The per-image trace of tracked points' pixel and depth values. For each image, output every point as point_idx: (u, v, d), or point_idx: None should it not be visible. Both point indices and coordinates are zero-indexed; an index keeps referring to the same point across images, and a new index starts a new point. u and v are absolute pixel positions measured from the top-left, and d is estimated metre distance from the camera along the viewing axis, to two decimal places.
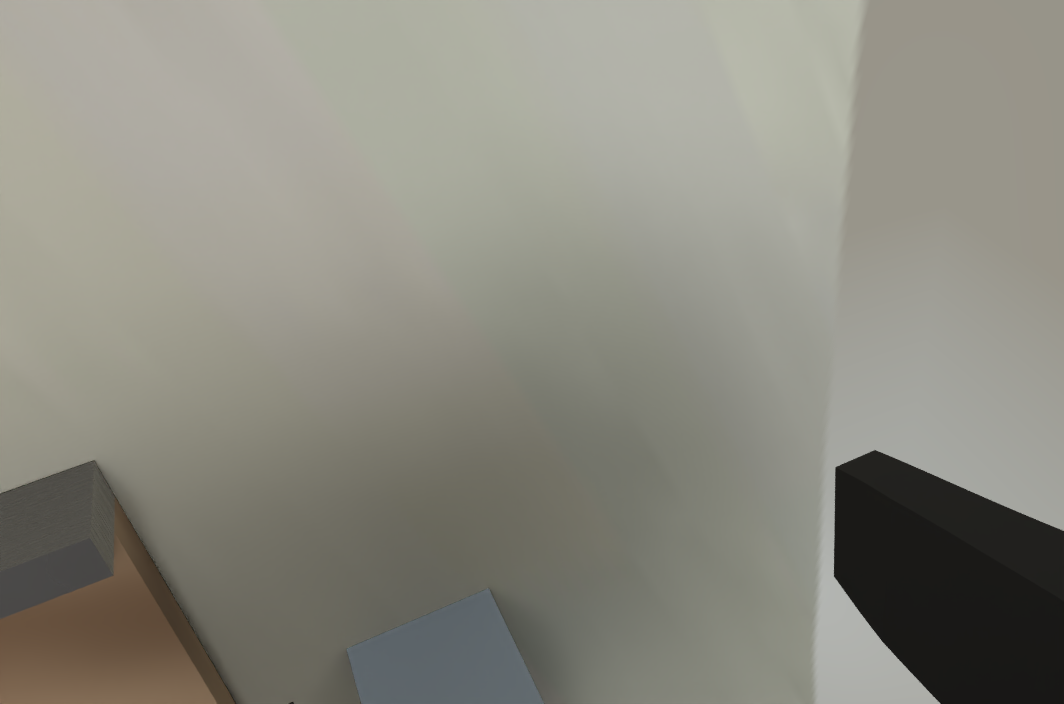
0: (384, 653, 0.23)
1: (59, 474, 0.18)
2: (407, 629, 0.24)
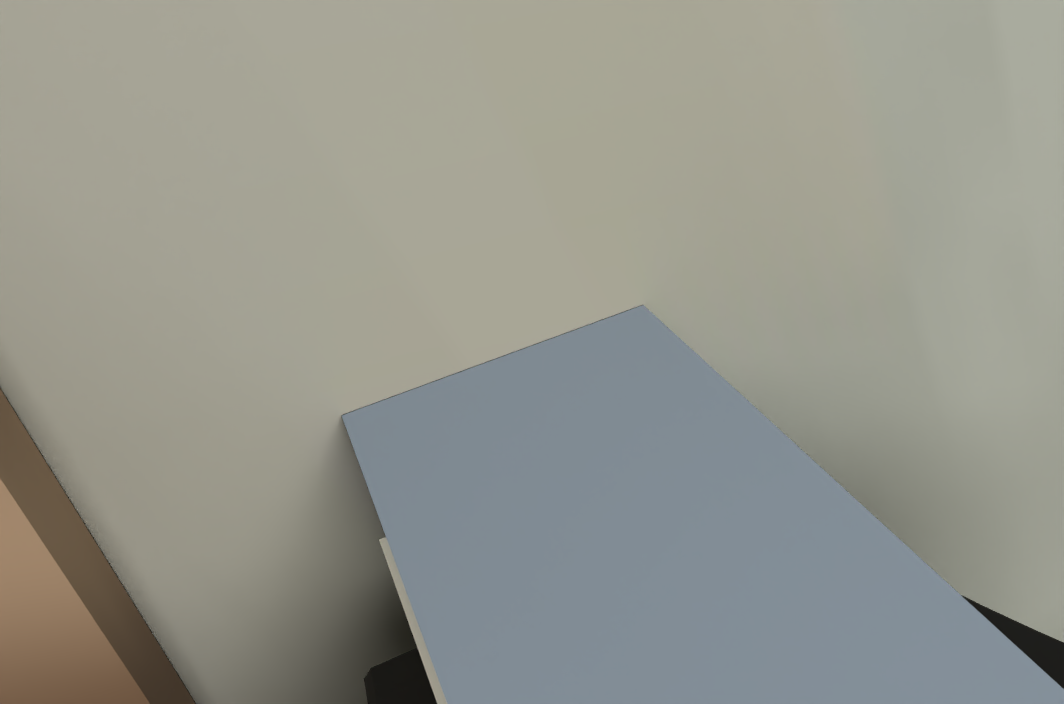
0: (427, 419, 0.10)
1: None
2: (475, 378, 0.11)
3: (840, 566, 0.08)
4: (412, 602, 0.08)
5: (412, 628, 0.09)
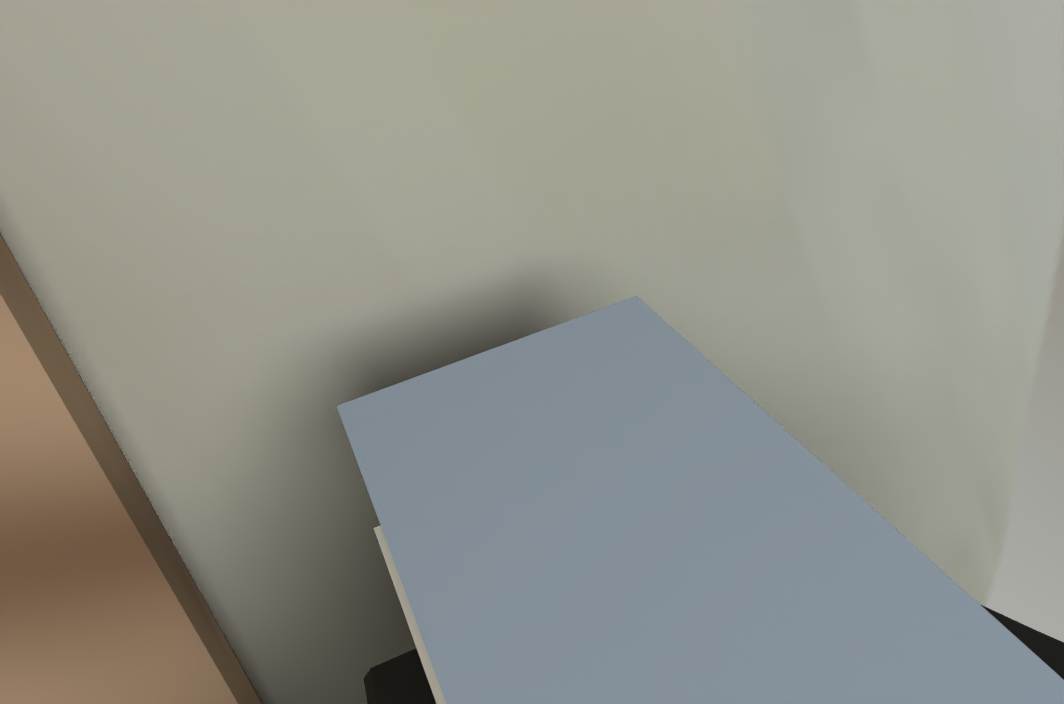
0: (421, 409, 0.10)
1: None
2: (470, 368, 0.11)
3: (830, 550, 0.08)
4: (406, 588, 0.08)
5: (406, 614, 0.09)
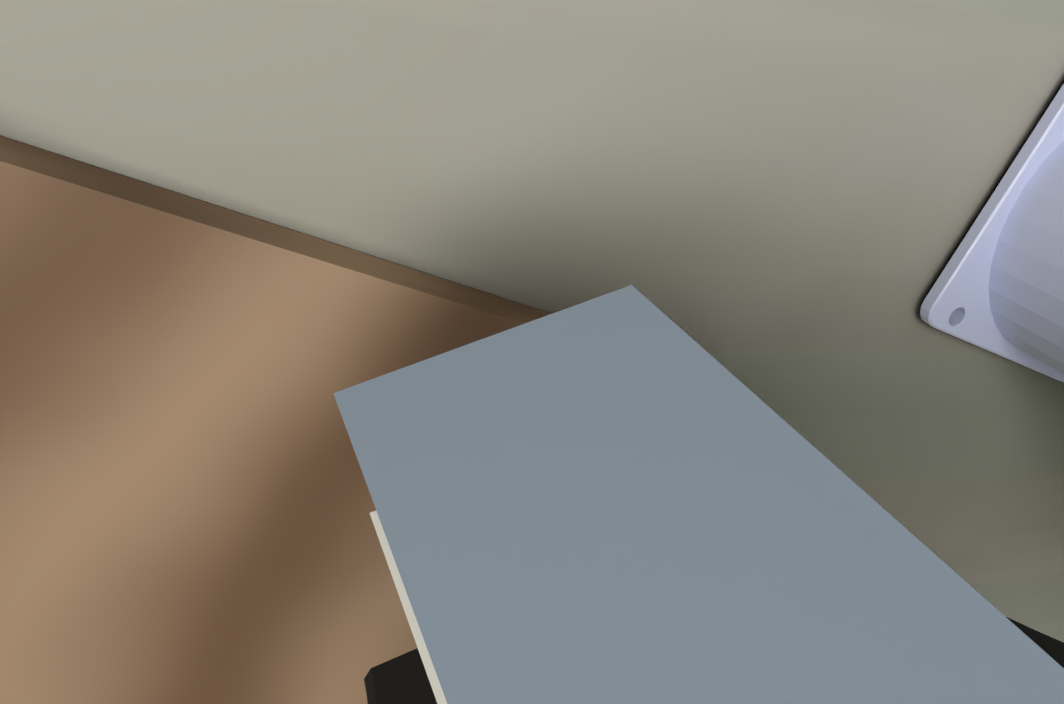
0: (417, 396, 0.10)
1: None
2: (465, 356, 0.11)
3: (819, 529, 0.08)
4: (400, 569, 0.08)
5: (401, 596, 0.09)
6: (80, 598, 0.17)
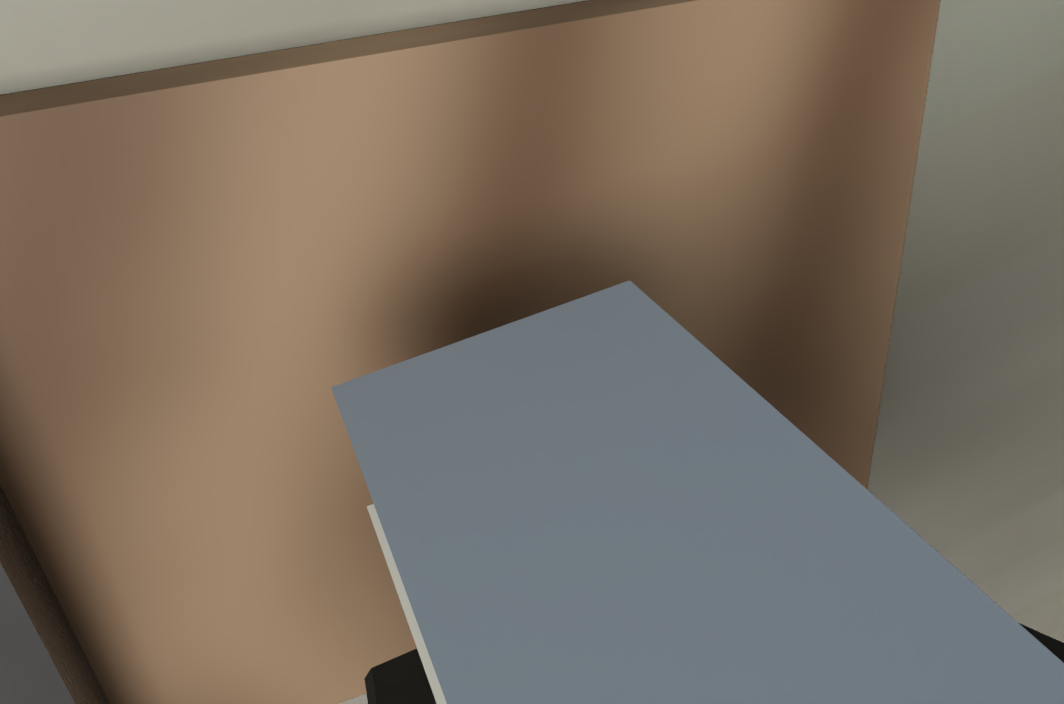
0: (415, 390, 0.10)
1: None
2: (463, 350, 0.11)
3: (816, 522, 0.08)
4: (397, 561, 0.08)
5: (397, 589, 0.09)
6: (309, 546, 0.16)
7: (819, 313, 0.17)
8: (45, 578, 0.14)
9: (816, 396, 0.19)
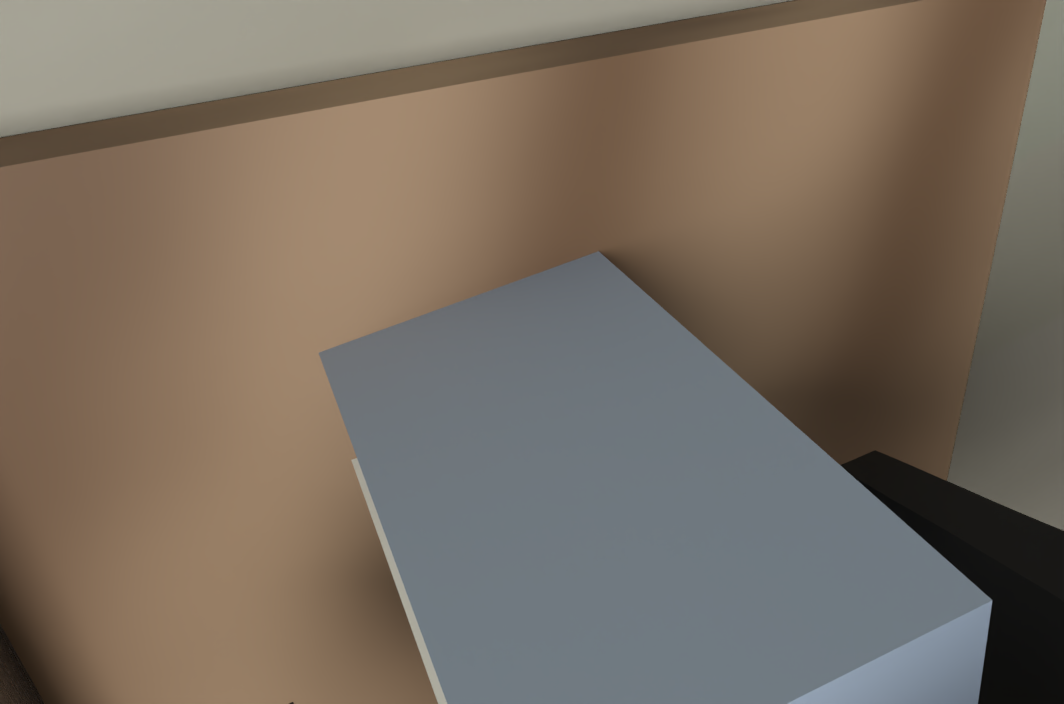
0: (396, 353, 0.11)
1: None
2: (442, 317, 0.12)
3: (754, 460, 0.08)
4: (375, 502, 0.09)
5: (378, 531, 0.10)
6: (330, 636, 0.14)
7: (892, 367, 0.16)
8: (32, 685, 0.12)
9: None
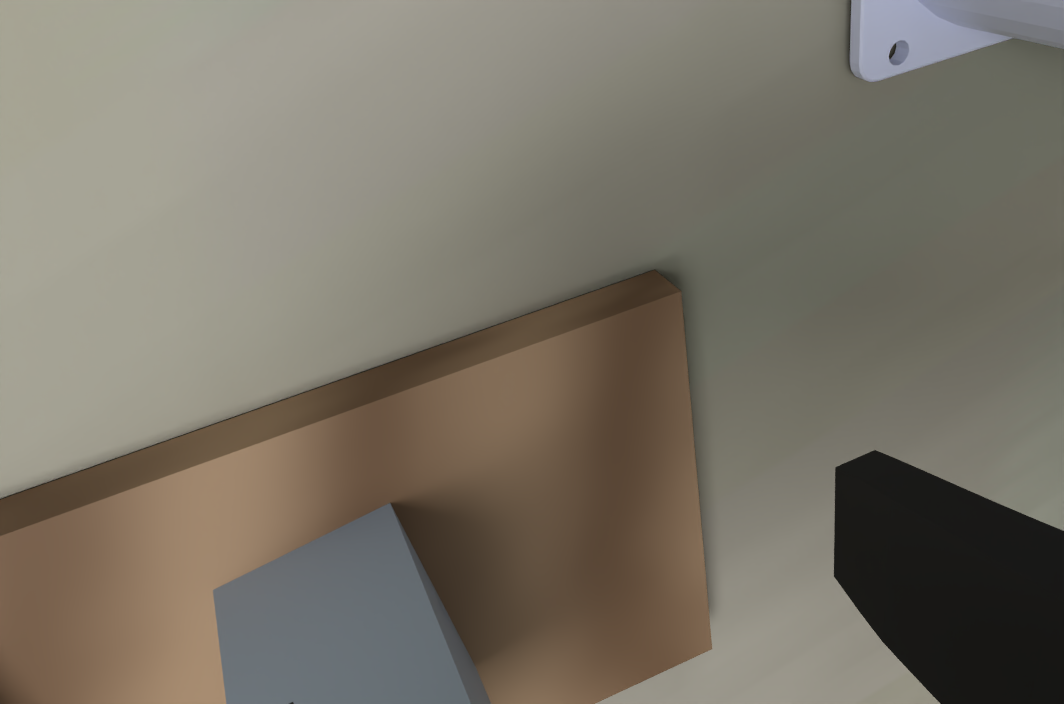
0: (256, 592, 0.18)
1: None
2: (287, 561, 0.19)
3: (424, 683, 0.15)
4: None
5: None
6: None
7: (635, 526, 0.23)
8: None
9: (647, 579, 0.24)
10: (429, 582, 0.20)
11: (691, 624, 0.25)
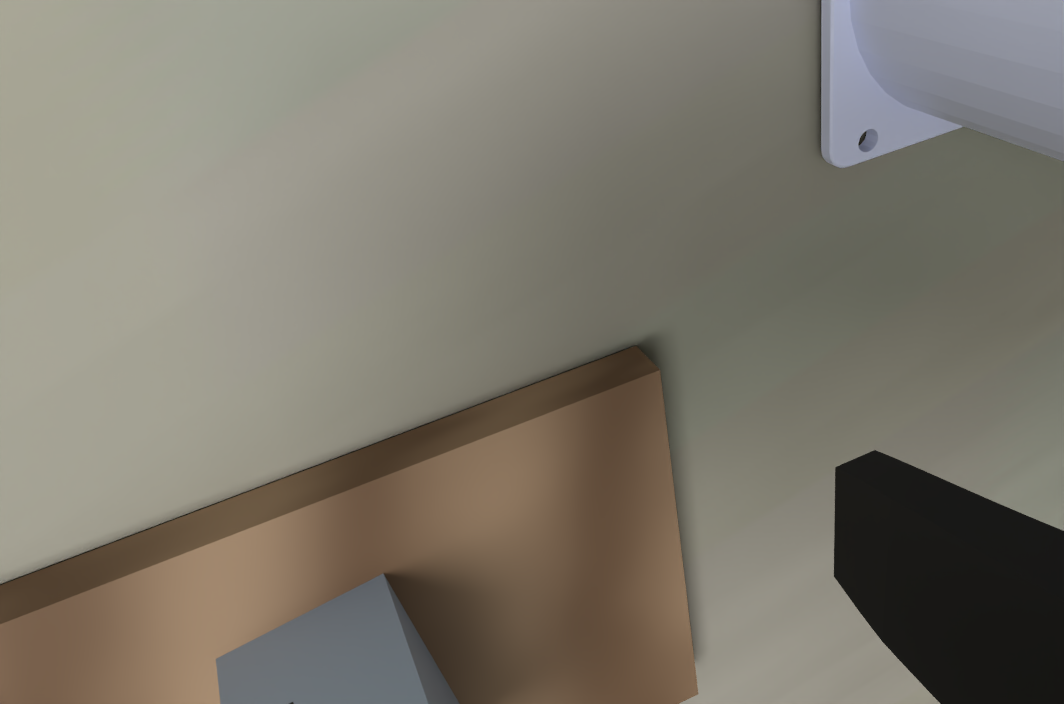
0: (257, 662, 0.19)
1: None
2: (286, 631, 0.20)
3: None
4: None
5: None
6: None
7: (620, 585, 0.23)
8: None
9: (633, 632, 0.25)
10: (421, 647, 0.21)
11: (677, 672, 0.26)
